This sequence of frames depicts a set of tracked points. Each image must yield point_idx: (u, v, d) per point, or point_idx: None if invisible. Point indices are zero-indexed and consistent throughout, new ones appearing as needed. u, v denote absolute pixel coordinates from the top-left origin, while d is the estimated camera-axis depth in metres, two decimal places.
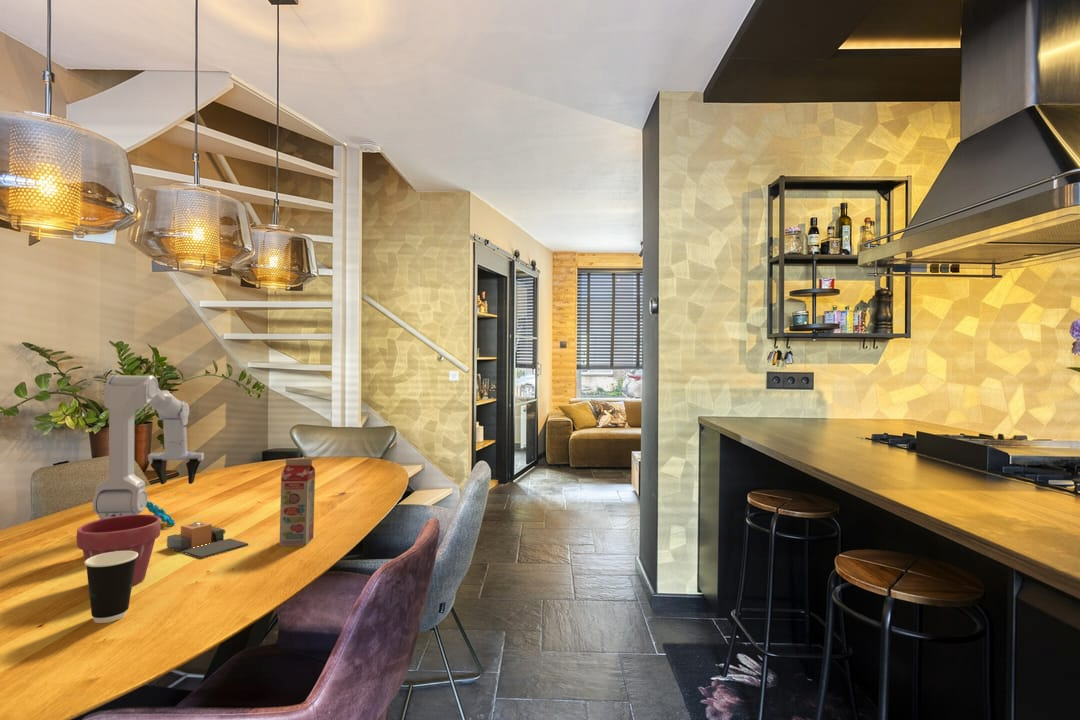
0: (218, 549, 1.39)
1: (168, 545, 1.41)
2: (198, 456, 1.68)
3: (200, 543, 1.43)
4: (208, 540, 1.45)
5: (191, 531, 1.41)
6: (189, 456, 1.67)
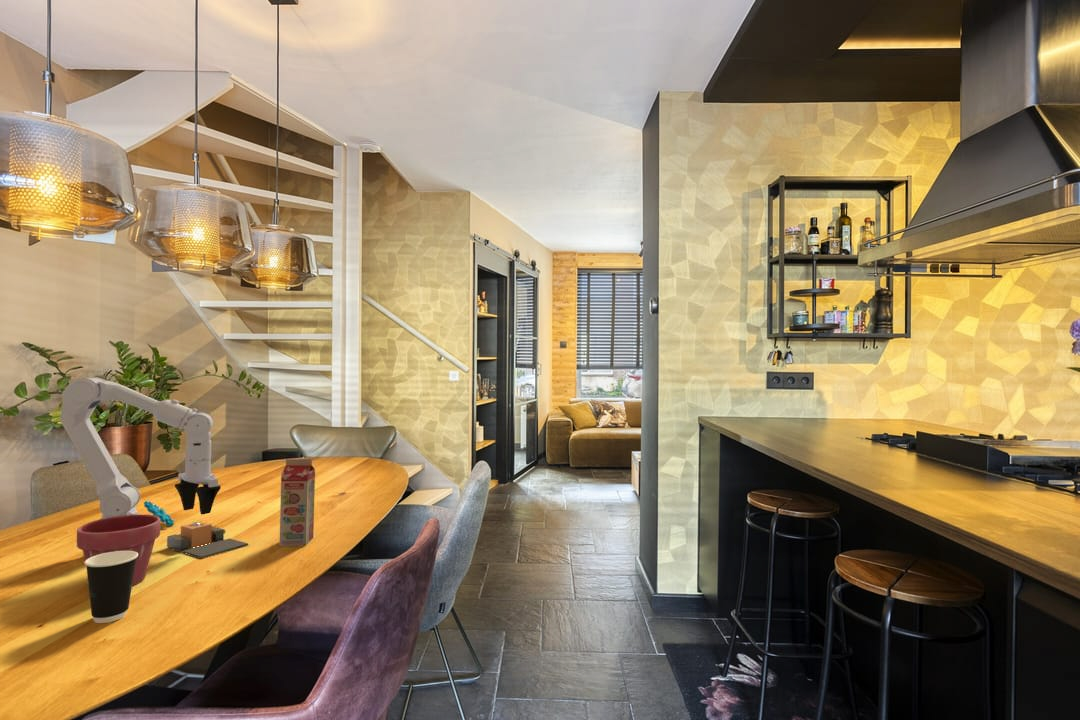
0: (218, 549, 1.39)
1: (168, 545, 1.41)
2: (208, 481, 1.41)
3: (200, 543, 1.43)
4: (208, 540, 1.45)
5: (191, 531, 1.41)
6: (200, 480, 1.41)
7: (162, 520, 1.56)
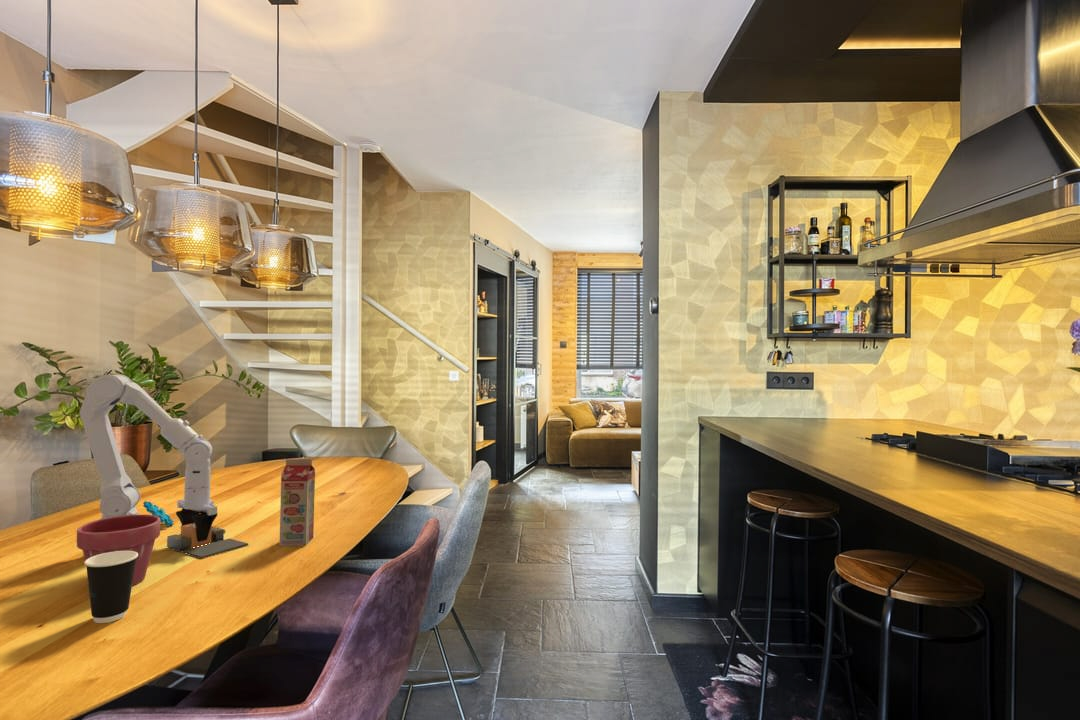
0: (218, 549, 1.39)
1: (168, 545, 1.41)
2: (207, 509, 1.41)
3: (200, 543, 1.43)
4: (208, 540, 1.45)
5: (191, 531, 1.41)
6: (200, 508, 1.41)
7: (161, 520, 1.56)
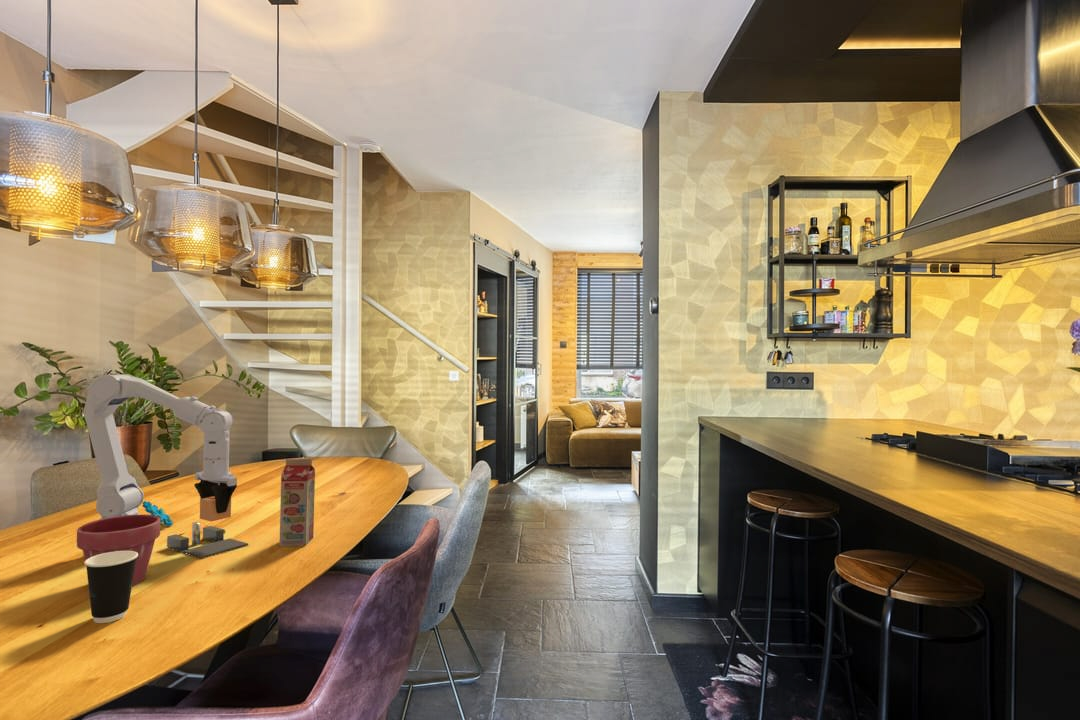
0: (218, 549, 1.39)
1: (168, 545, 1.41)
2: (227, 480, 1.38)
3: (219, 517, 1.41)
4: (227, 513, 1.42)
5: (211, 504, 1.39)
6: (219, 479, 1.39)
7: (160, 520, 1.56)
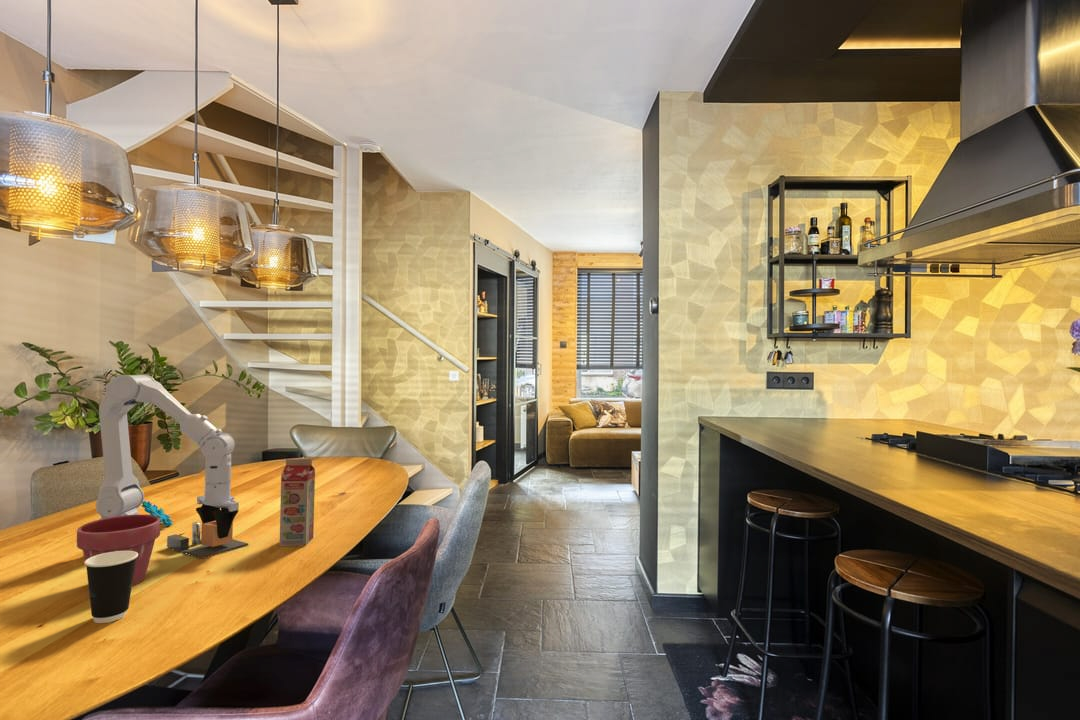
0: (218, 549, 1.39)
1: (168, 545, 1.41)
2: (229, 505, 1.38)
3: (221, 542, 1.40)
4: (229, 538, 1.42)
5: (213, 529, 1.38)
6: (221, 504, 1.38)
7: None
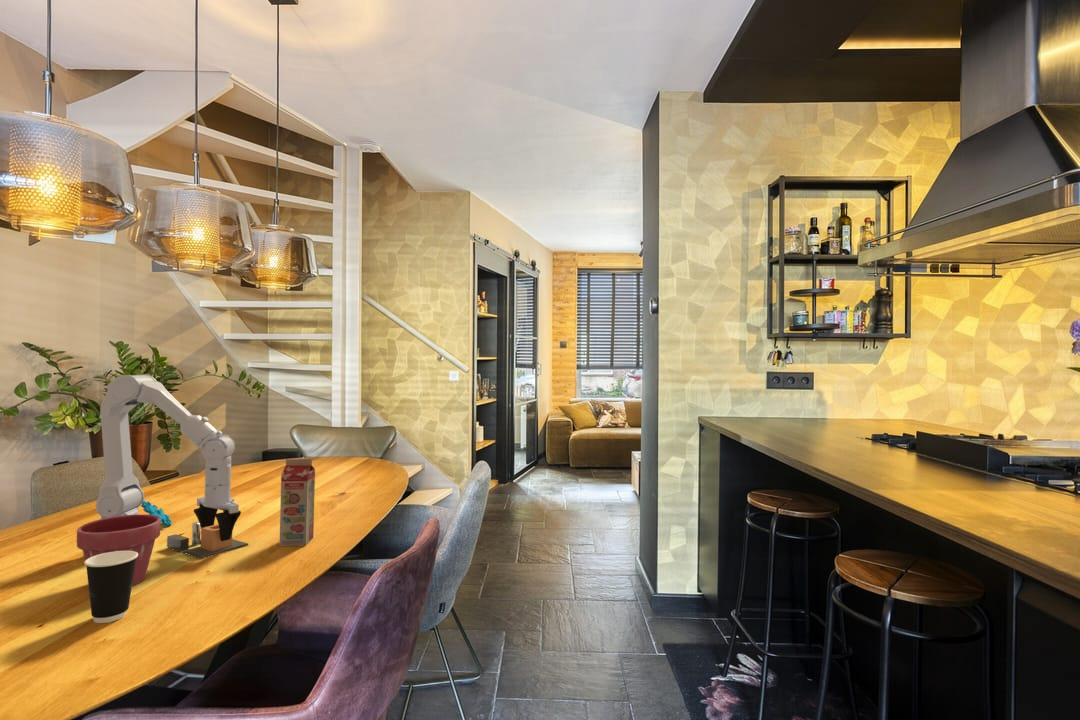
0: None
1: (168, 545, 1.41)
2: (229, 507, 1.38)
3: (221, 546, 1.40)
4: (229, 542, 1.42)
5: (212, 534, 1.38)
6: (221, 506, 1.38)
7: None
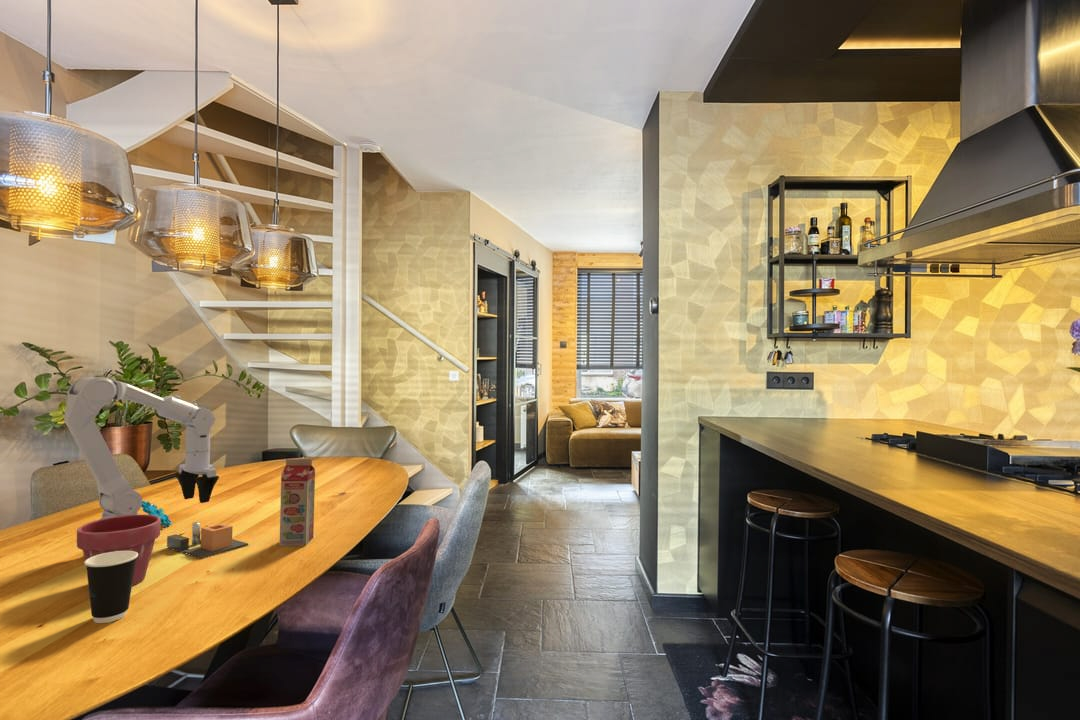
0: None
1: (168, 545, 1.41)
2: (207, 472, 1.49)
3: (221, 546, 1.40)
4: (229, 542, 1.42)
5: (212, 534, 1.38)
6: (200, 470, 1.49)
7: None
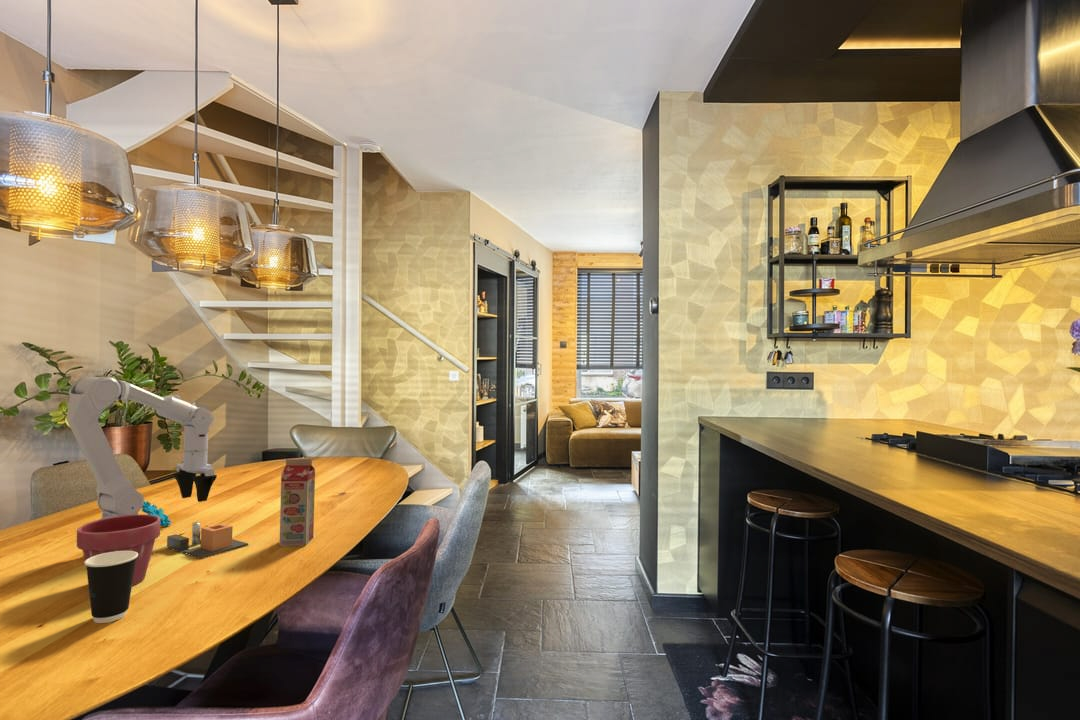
0: None
1: (168, 545, 1.41)
2: (205, 471, 1.50)
3: (221, 546, 1.40)
4: (229, 542, 1.42)
5: (212, 534, 1.38)
6: (198, 469, 1.51)
7: None
